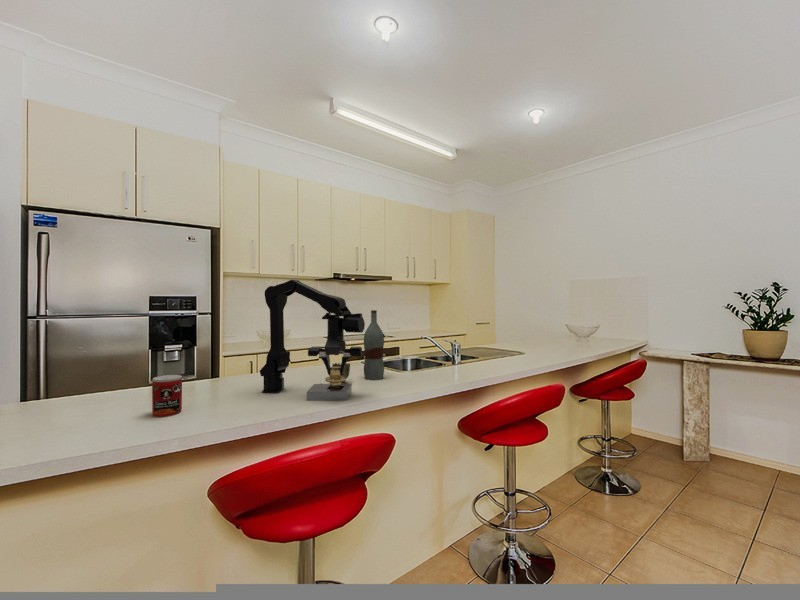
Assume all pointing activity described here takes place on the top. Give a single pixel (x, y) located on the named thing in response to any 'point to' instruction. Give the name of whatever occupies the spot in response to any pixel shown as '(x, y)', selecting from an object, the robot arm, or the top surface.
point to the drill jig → (329, 392)
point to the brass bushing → (335, 377)
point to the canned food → (166, 395)
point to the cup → (346, 370)
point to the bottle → (373, 350)
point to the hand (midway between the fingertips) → (335, 375)
